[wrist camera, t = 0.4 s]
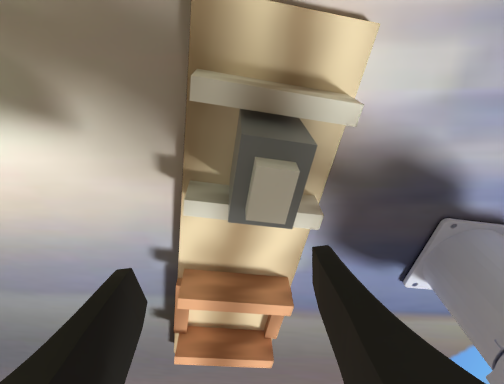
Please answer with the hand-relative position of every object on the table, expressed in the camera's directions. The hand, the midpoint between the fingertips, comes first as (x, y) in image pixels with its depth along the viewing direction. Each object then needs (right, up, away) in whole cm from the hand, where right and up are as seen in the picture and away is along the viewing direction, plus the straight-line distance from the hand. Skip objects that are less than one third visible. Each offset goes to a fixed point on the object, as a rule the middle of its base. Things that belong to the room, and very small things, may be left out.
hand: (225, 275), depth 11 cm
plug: (+2, +6, +7) cm, 10 cm away
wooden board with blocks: (0, 0, +12) cm, 12 cm away
